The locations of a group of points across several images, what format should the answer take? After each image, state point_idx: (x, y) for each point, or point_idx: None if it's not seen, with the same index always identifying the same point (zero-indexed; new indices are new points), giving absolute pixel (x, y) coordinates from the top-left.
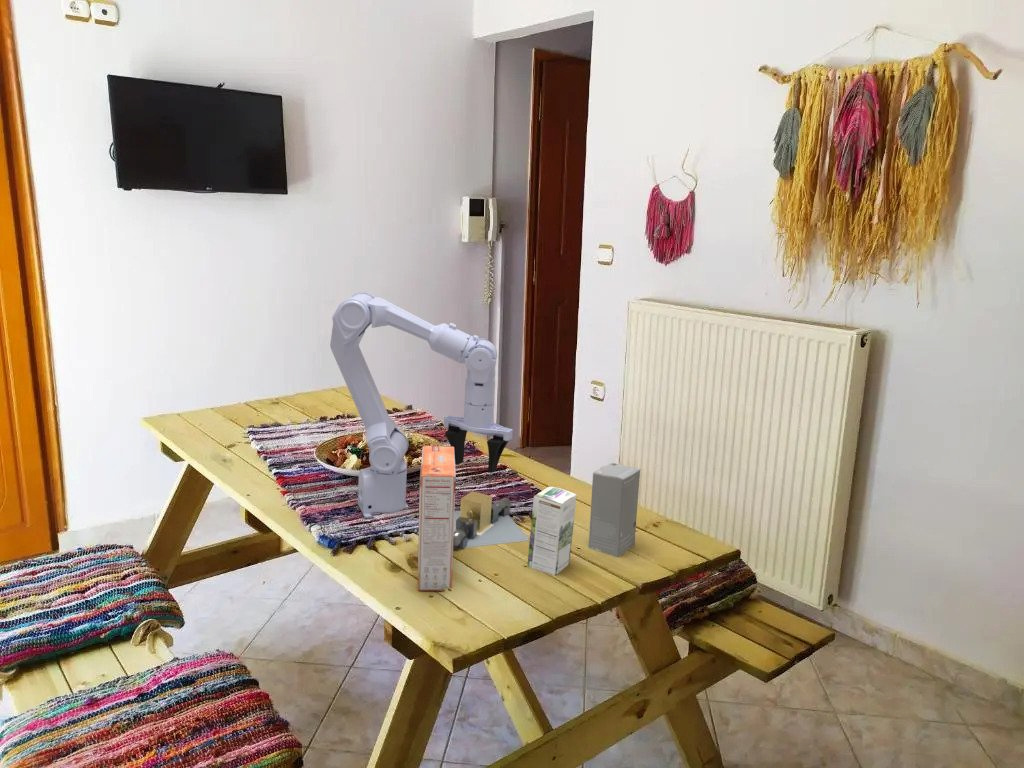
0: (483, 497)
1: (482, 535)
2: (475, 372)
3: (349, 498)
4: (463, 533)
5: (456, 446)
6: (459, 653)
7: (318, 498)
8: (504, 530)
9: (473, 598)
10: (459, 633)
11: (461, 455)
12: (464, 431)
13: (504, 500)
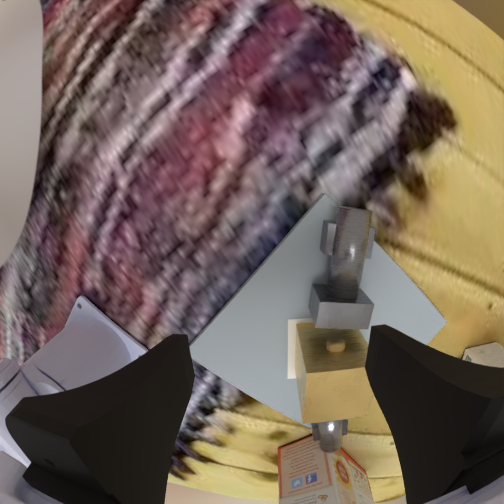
0: (359, 386)
1: None
2: None
3: (35, 339)
4: (341, 430)
5: (169, 458)
6: (400, 496)
7: (20, 359)
8: (391, 320)
9: (393, 464)
10: (394, 489)
11: (177, 371)
12: (111, 460)
13: (362, 234)
